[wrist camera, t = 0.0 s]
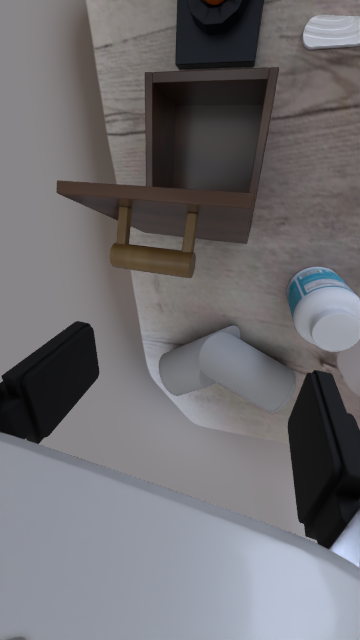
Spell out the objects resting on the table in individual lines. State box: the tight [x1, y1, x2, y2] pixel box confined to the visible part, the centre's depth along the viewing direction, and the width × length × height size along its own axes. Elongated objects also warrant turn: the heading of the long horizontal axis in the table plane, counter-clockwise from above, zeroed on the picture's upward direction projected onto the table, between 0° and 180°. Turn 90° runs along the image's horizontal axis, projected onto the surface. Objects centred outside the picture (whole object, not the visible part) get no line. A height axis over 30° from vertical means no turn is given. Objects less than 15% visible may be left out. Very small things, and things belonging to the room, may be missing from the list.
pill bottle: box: [287, 267, 360, 351], centre depth 32 cm, size 8×7×14 cm
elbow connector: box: [159, 326, 296, 413], centre depth 44 cm, size 18×11×20 cm
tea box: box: [145, 67, 279, 237], centre depth 30 cm, size 15×13×9 cm
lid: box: [57, 181, 254, 278], centre depth 23 cm, size 15×13×5 cm
